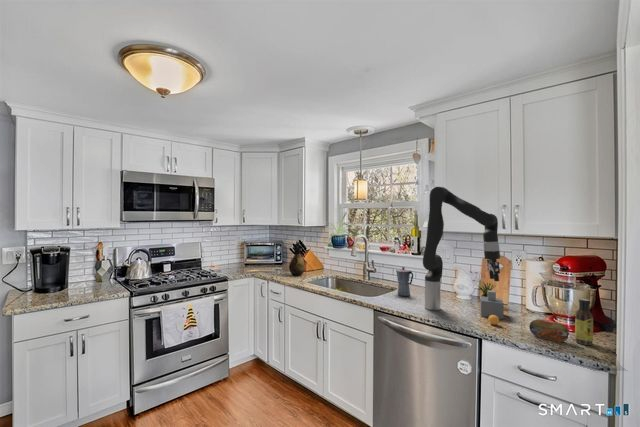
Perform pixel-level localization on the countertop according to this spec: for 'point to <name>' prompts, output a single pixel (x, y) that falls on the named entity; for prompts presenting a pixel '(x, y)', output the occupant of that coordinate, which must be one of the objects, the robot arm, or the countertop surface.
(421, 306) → the countertop surface
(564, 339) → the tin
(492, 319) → the ball
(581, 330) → the sauce bottle
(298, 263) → the pineapple
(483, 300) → the stacked grey blocks
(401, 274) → the moka pot
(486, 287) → the house plant
